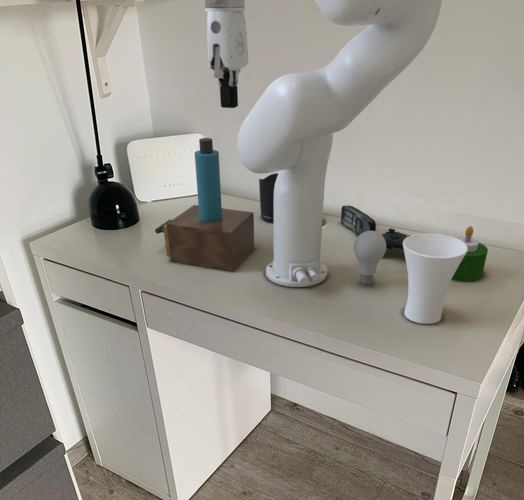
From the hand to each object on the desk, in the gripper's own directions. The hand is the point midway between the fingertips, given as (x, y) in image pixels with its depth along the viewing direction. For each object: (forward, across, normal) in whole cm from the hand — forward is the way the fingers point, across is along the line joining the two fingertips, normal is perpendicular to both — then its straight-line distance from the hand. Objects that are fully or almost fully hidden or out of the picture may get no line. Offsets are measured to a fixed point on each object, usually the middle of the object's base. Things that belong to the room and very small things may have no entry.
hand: (229, 106), depth 113 cm
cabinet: (+29, -10, +1) cm, 31 cm away
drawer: (+28, -10, +5) cm, 30 cm away
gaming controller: (+29, +2, -38) cm, 48 cm away
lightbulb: (+29, -13, -34) cm, 47 cm away
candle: (+30, -2, -51) cm, 59 cm away
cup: (+30, -22, -46) cm, 59 cm away
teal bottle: (+20, -10, +1) cm, 23 cm away
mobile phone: (+29, +13, -27) cm, 42 cm away
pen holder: (+29, +17, -5) cm, 34 cm away
